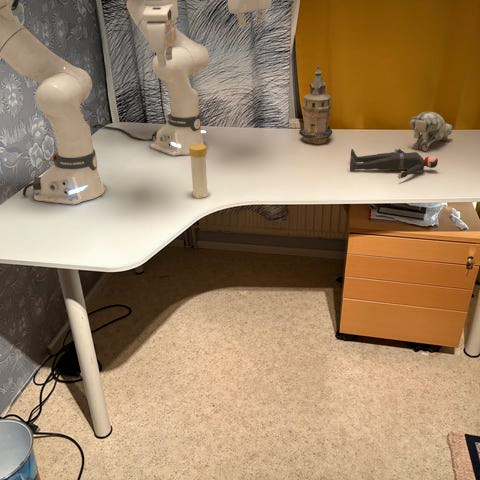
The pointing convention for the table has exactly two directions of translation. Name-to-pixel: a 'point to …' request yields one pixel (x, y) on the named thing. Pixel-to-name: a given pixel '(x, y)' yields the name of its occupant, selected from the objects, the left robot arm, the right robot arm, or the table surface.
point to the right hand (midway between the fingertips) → (250, 25)
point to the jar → (199, 176)
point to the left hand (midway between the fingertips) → (165, 63)
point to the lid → (197, 150)
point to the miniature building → (316, 112)
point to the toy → (393, 162)
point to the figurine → (429, 128)
